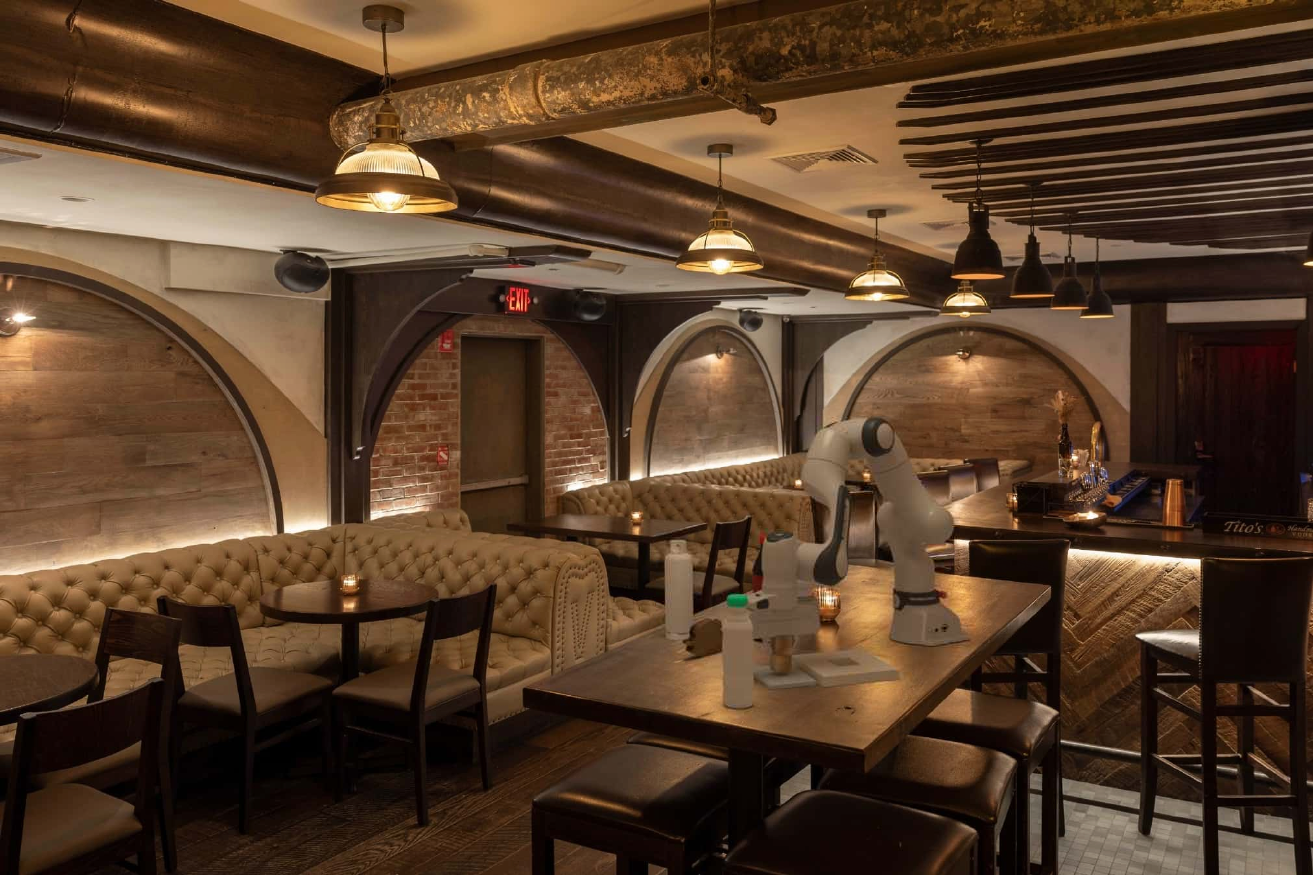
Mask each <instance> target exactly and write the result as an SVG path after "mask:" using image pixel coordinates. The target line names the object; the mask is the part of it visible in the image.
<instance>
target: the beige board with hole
mask: <svg viewBox="0 0 1313 875" xmlns="http://www.w3.org/2000/svg"><path fill="white" fill-rule="evenodd" d="M792 665H793V666H795V667H796V668H798V669H799V670H801V671H802V672H804V673H805V674H807V675H808V676H810V677H811V678H813V679H814V680H816V681H817V684H819V685H820V686H822V687H824V688H828V687H838V686H849V685H859V684H867V683H878V682H887V681H889V682H890V681H899V680H900V669H899V668H897V667H895V666H894V665H891V664H890V663H888V662H886V661H884V660H882V659H880V658H879V657H878V656H875V655H873V654H871V653H870V652H867V651H865V650H863V649H862V648H859V649H858V648H857V649H856V648H855V649H846V650H834V651H826V652H825V651H823V652H815V653H801V654H792Z"/></svg>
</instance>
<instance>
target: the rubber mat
mask: <svg viewBox="0 0 1313 875" xmlns="http://www.w3.org/2000/svg"><path fill="white" fill-rule="evenodd" d="M753 678H754V679H755V680H757V681H758V682H759V683H761V684H762V685H764V687H765V688H767V689H769V690H771V691H772V690H781V689H791V688H800V687H812V686H817V685H818V683H817V681H816V680H814V679H813V678H811V677H810V676H808V675H807V674H805V673H804V672H802V671H801V670H799V669H798V668H796V667H795V666H793V665H792V672H783V673H776V672H774V671H773V670H771V669H770V664H769V665H760V666H753Z"/></svg>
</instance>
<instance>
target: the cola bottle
mask: <svg viewBox="0 0 1313 875" xmlns="http://www.w3.org/2000/svg"><path fill="white" fill-rule="evenodd" d="M767 535H768V534H763V535H760V536H759V545H760V548H759V552H758V553H757V554H758V555H757V557H756V558H755V560H754V564H753V566H752V569H751V571H752V572H751V573H752V594H753V593H756V592H758V591H760V590H762V583H763V578H764V576H763V571H762V549H763V543H764V539H765V537H766V536H767ZM756 641H758V642H762V643H763V641H762V638H759V639H756Z"/></svg>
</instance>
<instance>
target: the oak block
mask: <svg viewBox="0 0 1313 875" xmlns="http://www.w3.org/2000/svg"><path fill="white" fill-rule="evenodd" d="M791 640H792V638H791V635H786V636H776V637H770V642H769V644H770V646H772V647H773V648H774V652H775V654H774V655H769V659H770V660H769V662H770V664H769V665H770V669H771V670H773V671H774V672H776V673H783V672H792V655H793V653H792V648H791Z"/></svg>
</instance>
